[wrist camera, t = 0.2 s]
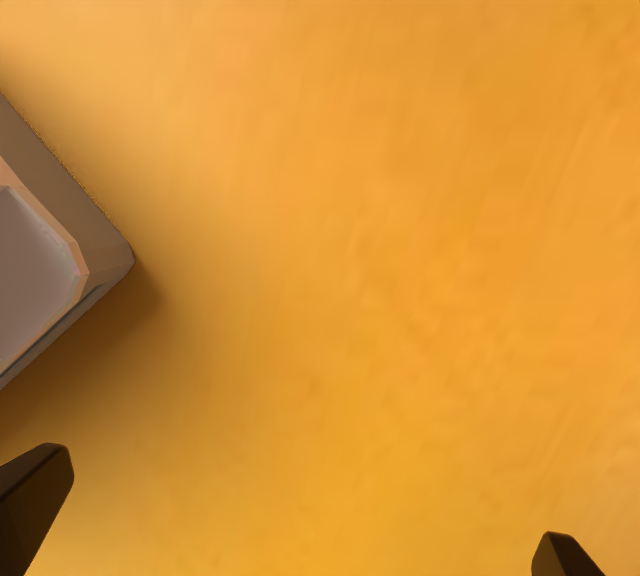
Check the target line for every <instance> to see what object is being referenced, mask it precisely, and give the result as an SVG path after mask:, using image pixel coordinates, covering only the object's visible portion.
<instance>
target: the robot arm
mask: <svg viewBox="0 0 640 576" xmlns="http://www.w3.org/2000/svg"><path fill="white" fill-rule="evenodd" d="M73 482H74V470H73V466H72V462H71V458H70V454H69V450H68V448H67V447H66V446H64V445H60V444H54V443H44V444H41V445H39V446H37V447H35V448H33V449H32V450H30V451H28V452H26V453H24V454H23V455H21V456H19V457H17V458H15V459H13V460H12V461H10V462H8V463H6V464H4V465H2V466H1V467H0V576H24V574H25V572H26V571H27V569H28V568H29V566H30V564H31V562H32V561H33V559H34V557H35V555H36V554H37V552H38V550H39V548H40V546H41V544H42V542H43V540H44V539H45V537H46V535H47V533H48V531H49V529H50V527H51V525H52V524H53V522H54V520H55V518H56V516H57V514H58V512H59V510H60V509H61V507H62V505H63V503H64V501H65V499H66V497H67V495H68V494H69V492H70V490H71V488H72V485H73ZM531 572H532V576H605V574H604V573H603V572H602V571H601V570H600V568H599V567H598V566H597V565H596V564H595V562H594V561H593V560H592V559H591V558H590V556H589V555H588V554H587V553H586V552H585V551H584V549H583V548H582V547H581V546H580V545H579V543H578V542H577V541H576V540H575V539H574V538H573V537H572V536H570V535H567V534H563V533H557V532H552V531H547V532H546V533H544V535H543V536H542V539H541V541H540V543H539V546H538V548H537V550H536V552H535V555H534V557H533V560H532V566H531Z"/></svg>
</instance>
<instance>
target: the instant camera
mask: <svg viewBox="0 0 640 576" xmlns="http://www.w3.org/2000/svg"><path fill="white" fill-rule="evenodd" d="M135 262H136V261H135V259H134V256H133V253H132V250H131V248H130V245H129V243H128V241H127V240H126V239H125V238H124V237H123V236H122V234H121V233H120V232H119V231H118V230H117V228H116V227H115V226H114V225H113V224H112V223H111V221H110V220H109V219H108V218H107V217H106V216H105V214H104V213H103V212H102V211H101V210H100V209H99V207H98V206H97V205H96V204H95V203H94V202H93V200H92V199H91V198H90V197H89V196H88V195H87V193H86V192H85V191H84V190H83V189H82V187H81V186H80V185H79V184H78V183H77V182H76V180H75V179H74V178H73V177H72V176H71V175H70V173H69V172H68V171H67V170H66V169H65V168H64V166H63V165H62V164H61V163H60V162H59V161H58V159H57V158H56V157H55V156H54V155H53V154H52V152H51V151H50V150H49V149H48V148H47V146H46V145H45V144H44V143H43V142H42V141H41V139H40V138H39V137H38V136H37V135H36V134H35V132H34V131H33V130H32V129H31V128H30V127H29V125H28V124H27V123H26V122H25V121H24V120H23V118H22V117H21V116H20V115H19V114H18V113H17V111H16V110H15V109H14V108H13V107H12V105H11V104H10V103H9V102H8V101H7V100H6V98H5V97H4V96H3V95H2V94H1V93H0V390H2V389H3V388H4V387H5V386H6V385H7V384H8V383H9V382H10V381H11V380H12V379H14V378H15V377H16V376H17V375H18V374H19V373H20V372H21V371H22V370H23V369H24V368H26V367H27V366H28V365H29V364H30V363H31V362H32V361H33V360H34V359H35V358H36V357H37V356H39V355H40V354H41V353H42V352H43V351H44V350H45V349H46V348H47V347H48V346H49V345H51V344H52V343H53V342H54V341H55V340H56V339H57V338H58V337H59V336H60V335H61V334H63V333H64V332H65V331H66V330H67V329H68V328H69V327H70V326H71V325H72V324H73V323H75V322H76V321H77V320H78V319H79V318H80V317H81V316H82V315H83V314H84V313H85V312H86V311H88V310H89V309H90V308H91V307H92V306H93V305H94V304H95V303H96V302H97V301H98V300H100V299H101V298H102V297H103V296H104V295H105V294H106V293H107V292H108V291H109V290H110V289H112V288H113V287H114V286H115V285H116V284H117V283H118V282H119V281H120V280H121V279H122V278H123V277H125V276H126V274H127V273H128V272H129V270H130V269H131V267H132V266H133V265H134V263H135Z"/></svg>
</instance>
